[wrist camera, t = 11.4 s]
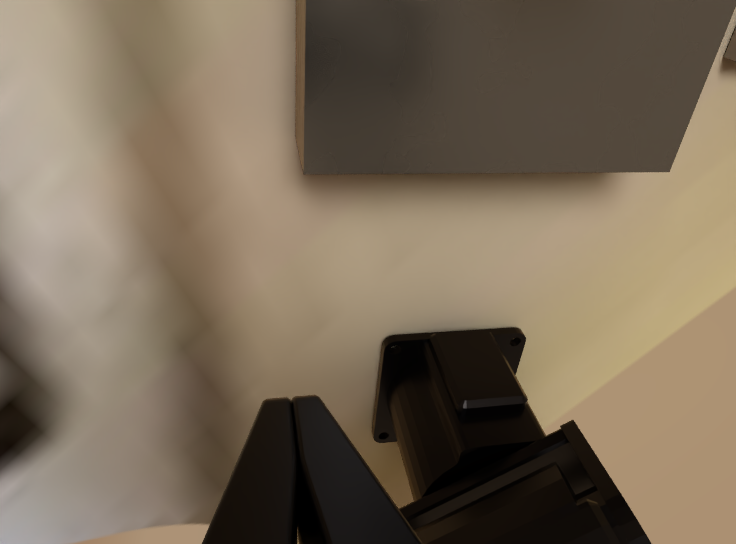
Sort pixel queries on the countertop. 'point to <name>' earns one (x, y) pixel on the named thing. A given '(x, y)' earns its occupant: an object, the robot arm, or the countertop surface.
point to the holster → (731, 48)
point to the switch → (500, 84)
